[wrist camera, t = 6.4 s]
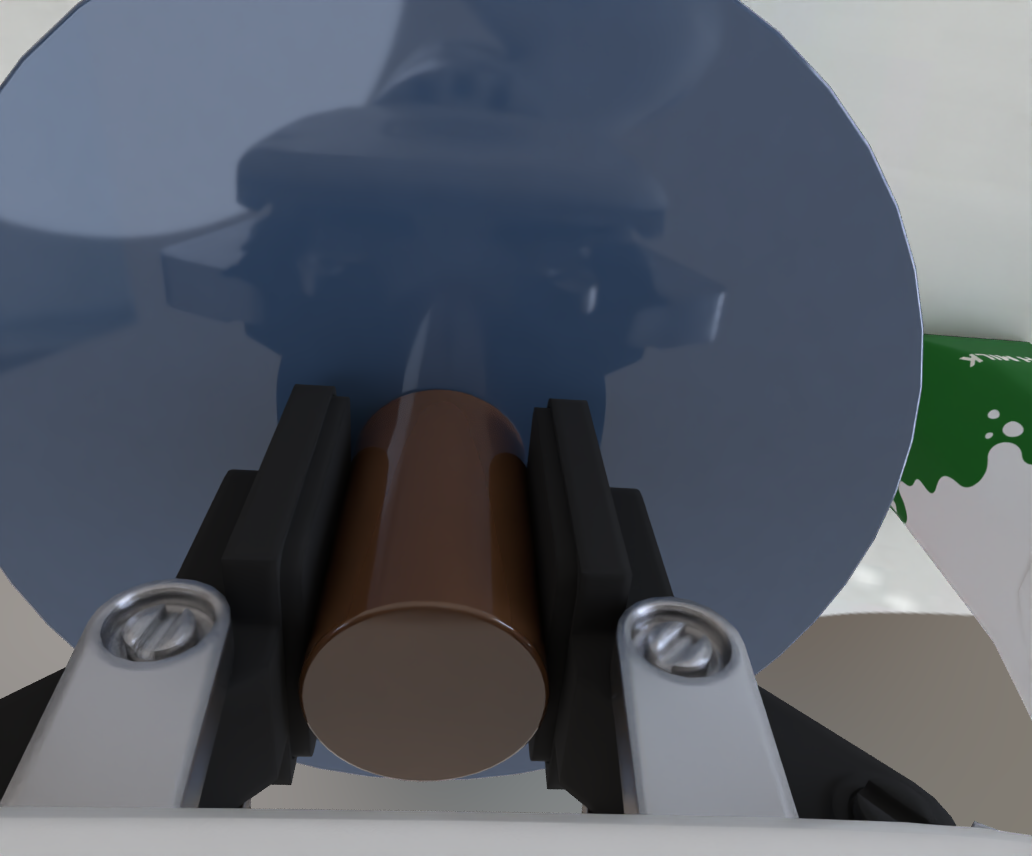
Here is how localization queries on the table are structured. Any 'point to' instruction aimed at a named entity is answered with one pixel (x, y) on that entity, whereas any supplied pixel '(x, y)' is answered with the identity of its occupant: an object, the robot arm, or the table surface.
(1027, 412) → the milk carton
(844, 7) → the table surface
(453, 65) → the crock lid
